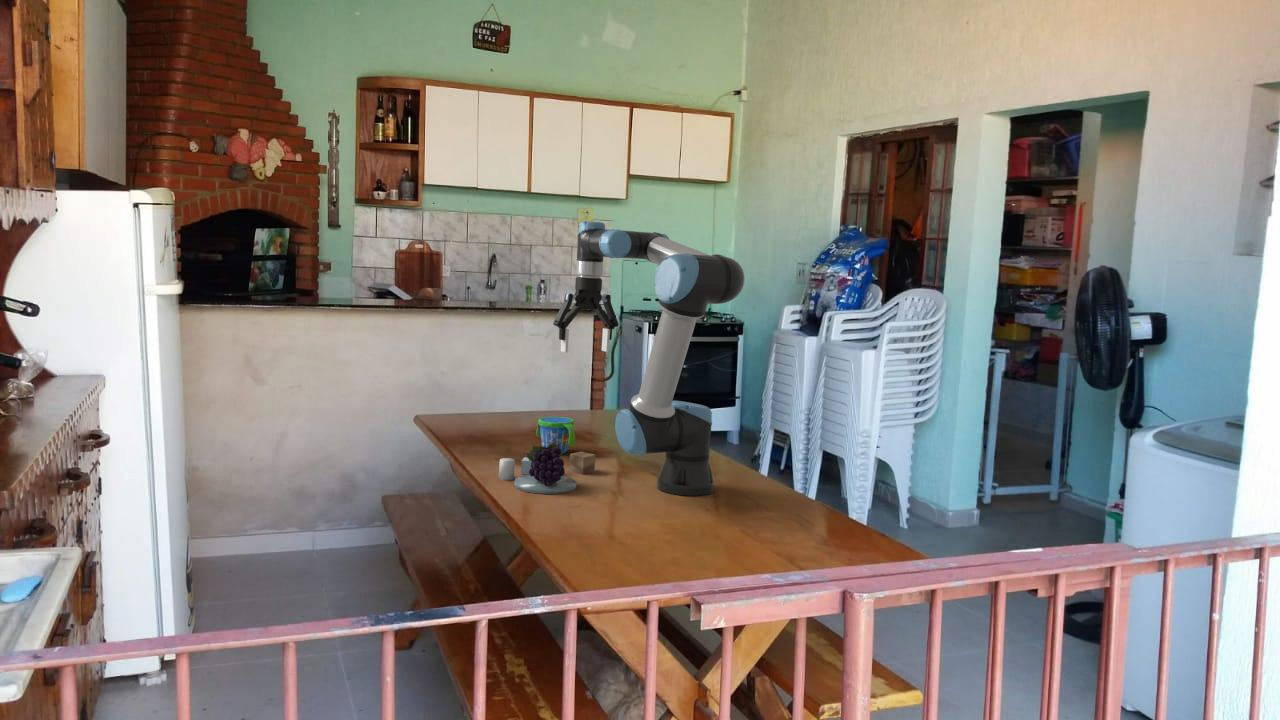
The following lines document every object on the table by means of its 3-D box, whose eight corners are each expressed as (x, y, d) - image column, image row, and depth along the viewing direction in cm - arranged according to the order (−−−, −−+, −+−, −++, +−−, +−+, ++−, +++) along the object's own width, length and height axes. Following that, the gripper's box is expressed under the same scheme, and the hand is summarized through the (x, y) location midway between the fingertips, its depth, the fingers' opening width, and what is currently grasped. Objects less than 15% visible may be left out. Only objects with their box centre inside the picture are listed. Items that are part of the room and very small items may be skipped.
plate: (587, 490, 241) (587, 486, 241) (531, 496, 233) (531, 491, 232) (558, 476, 255) (558, 472, 254) (504, 481, 246) (504, 476, 246)
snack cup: (526, 448, 287) (527, 416, 286) (554, 445, 293) (556, 413, 292) (554, 459, 275) (556, 425, 274) (583, 456, 281) (585, 422, 280)
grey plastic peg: (516, 479, 249) (517, 460, 248) (502, 480, 247) (503, 462, 246) (510, 475, 252) (510, 457, 252) (496, 477, 250) (497, 458, 249)
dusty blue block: (550, 476, 254) (550, 462, 254) (521, 474, 255) (521, 460, 254) (552, 473, 258) (552, 459, 258) (523, 471, 259) (524, 457, 258)
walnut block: (594, 472, 262) (595, 454, 262) (582, 474, 258) (583, 457, 258) (580, 468, 265) (581, 451, 265) (569, 471, 261) (570, 454, 261)
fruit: (538, 500, 237) (522, 471, 249) (577, 491, 240) (560, 464, 253) (536, 464, 233) (520, 438, 245) (576, 456, 236) (558, 430, 249)
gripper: (619, 277, 274) (614, 349, 277) (543, 274, 260) (539, 350, 262) (633, 279, 268) (628, 352, 270) (556, 276, 254) (552, 353, 256)
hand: (584, 351), depth 266 cm, fingers open, 13 cm apart
